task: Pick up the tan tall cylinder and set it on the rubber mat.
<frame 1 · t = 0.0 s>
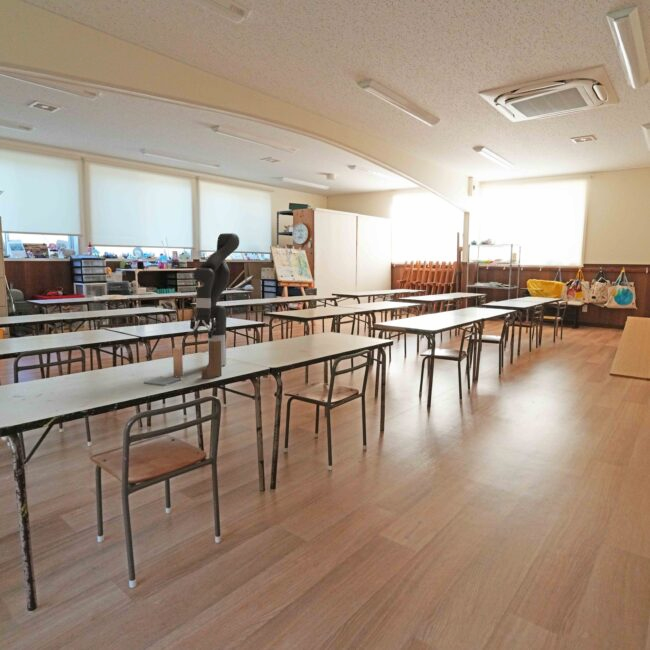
hand: (202, 338, 243), 17 cm above the table, tool pointing down, fingers open, 8 cm apart
rubber mat: (162, 381, 221), on the table
tan tall cylinder: (178, 376, 232), on the table
wooden block: (211, 377, 231), on the table
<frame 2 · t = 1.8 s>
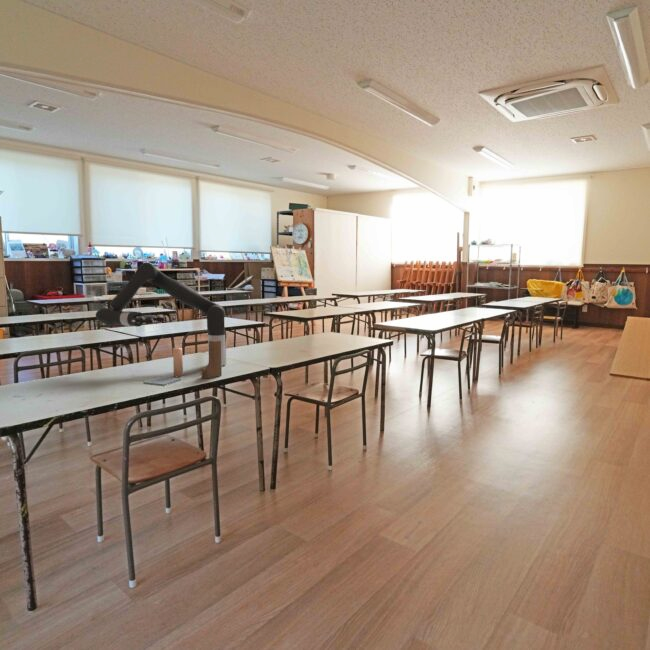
hand: (158, 320, 232), 27 cm above the table, tool horizontal, fingers open, 8 cm apart
nothing on the table moved.
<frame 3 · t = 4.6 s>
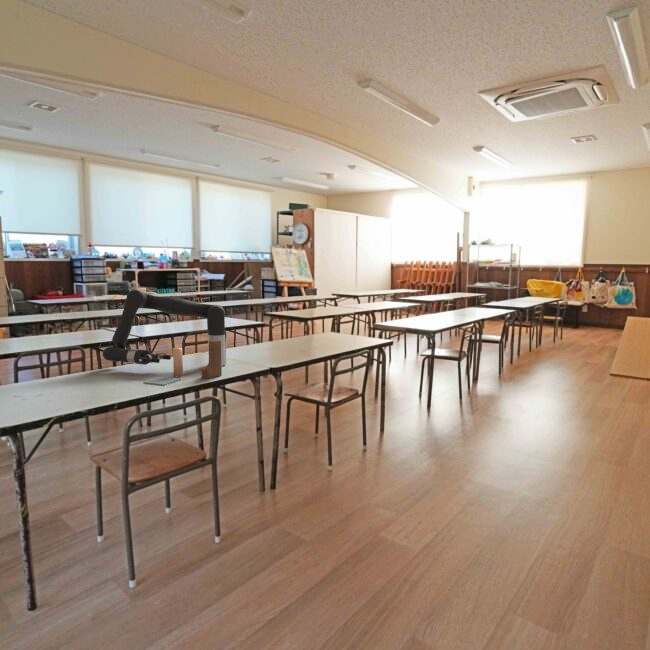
hand: (164, 359, 234), 8 cm above the table, tool horizontal, fingers open, 8 cm apart
nothing on the table moved.
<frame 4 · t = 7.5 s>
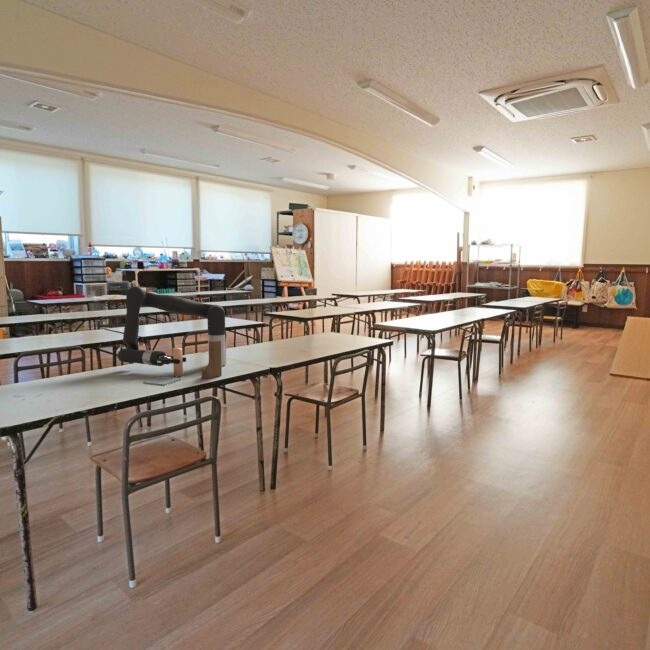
hand: (182, 360, 230), 8 cm above the table, tool horizontal, fingers closed on tan tall cylinder, 4 cm apart
tan tall cylinder: (178, 376, 232), on the table, touching gripper
everything else where it was.
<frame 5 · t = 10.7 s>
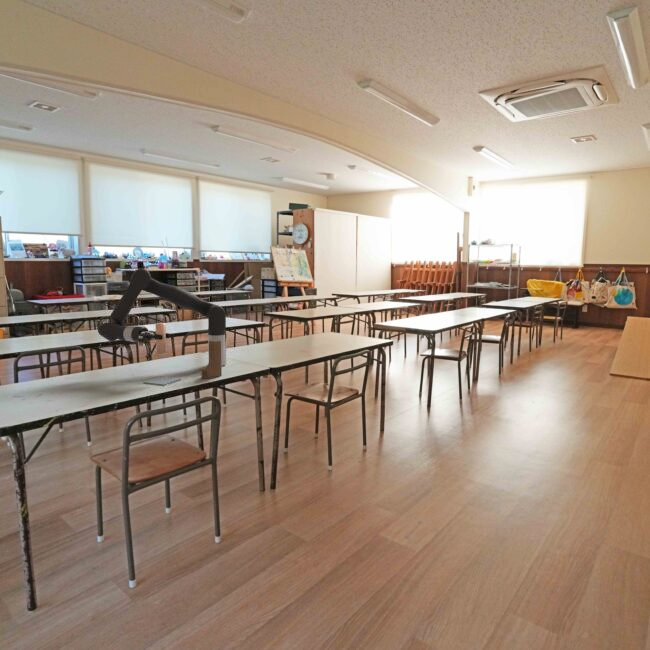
hand: (165, 336, 217), 22 cm above the table, tool horizontal, fingers closed on tan tall cylinder, 4 cm apart
tan tall cylinder: (161, 352, 219), point 14 cm above the table, touching gripper
everything else where it was.
when the fingers open (10 cm above the table, at t = 13.9 s): tan tall cylinder stays where it is, resting on rubber mat.
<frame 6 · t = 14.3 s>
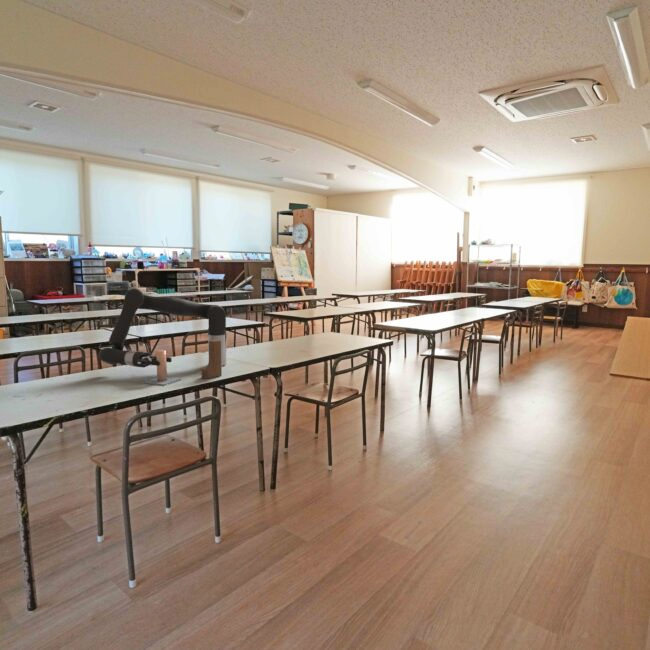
hand: (165, 361, 219), 10 cm above the table, tool horizontal, fingers open, 8 cm apart
tan tall cylinder: (162, 380, 221), point 1 cm above the table, touching rubber mat
everything else where it was.
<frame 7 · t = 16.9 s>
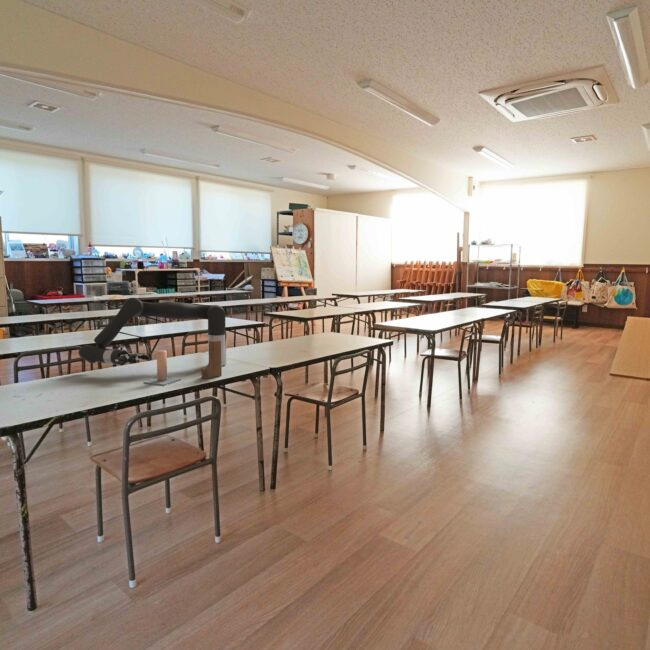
hand: (142, 359, 223), 10 cm above the table, tool horizontal, fingers open, 8 cm apart
nothing on the table moved.
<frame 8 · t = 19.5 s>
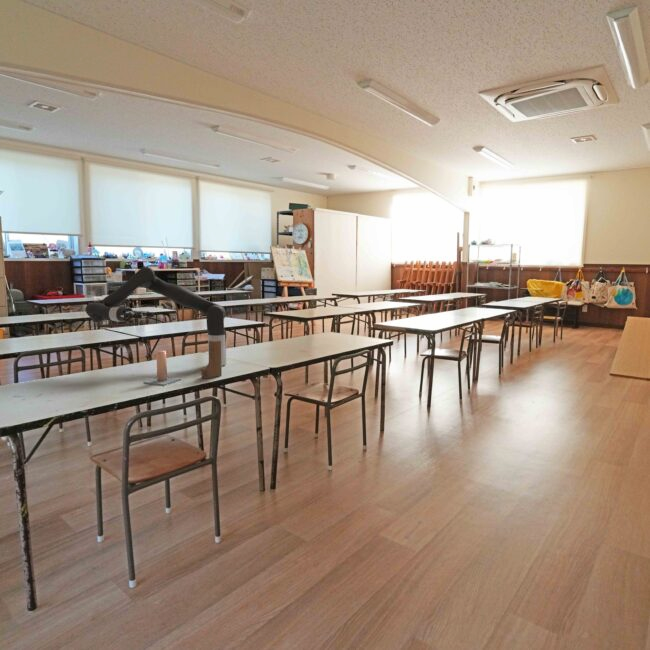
hand: (147, 315, 229), 30 cm above the table, tool horizontal, fingers open, 8 cm apart
nothing on the table moved.
at the end: tan tall cylinder inside the target area on the rubber mat (0.1 cm from its centre), point 0.6 cm above the rubber mat's base; tan tall cylinder tilted 0°; the gripper is holding nothing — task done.
